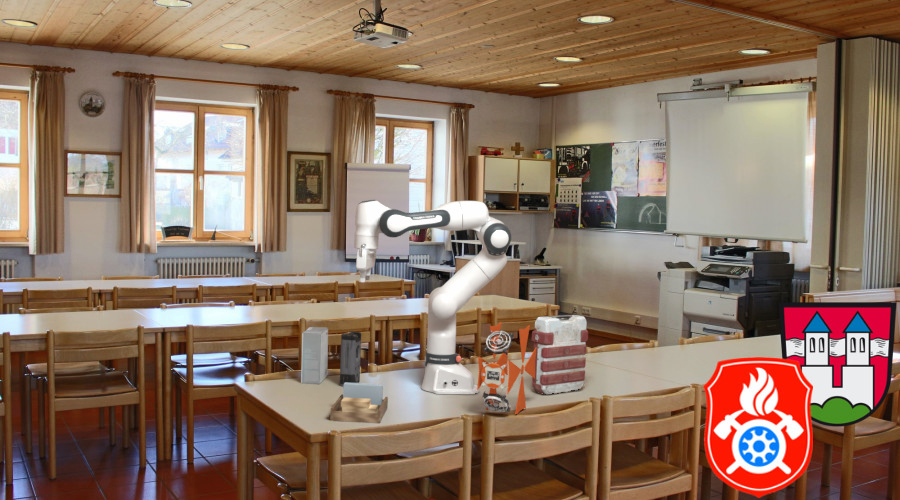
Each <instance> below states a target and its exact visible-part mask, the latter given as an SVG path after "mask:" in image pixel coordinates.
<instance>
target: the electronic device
mask: <svg viewBox="0 0 900 500" xmlns="http://www.w3.org/2000/svg"><path fill="white" fill-rule="evenodd" d="M340 339H341V340H340V363H339V367H340V368H339V386H340V387H343V386H344V383H345V382H347V383H361V381H360V379H361V378H360V377H361V375H360V374H361V354H362V352H361V351H362V350H361V349H362V348H361V347H362V333H361V332H360V331H346V332H344V333H341V336H340Z"/></svg>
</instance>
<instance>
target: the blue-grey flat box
mask: <svg viewBox="0 0 900 500" xmlns="http://www.w3.org/2000/svg"><path fill="white" fill-rule="evenodd" d="M342 387H343V389H342V390H343V392H342V393H343V398H344V397H347V398H366V399H371V405H381V404H382V399H383V394H384V393H383V392H384V391H383V390H384V384H382V383H381V384H380V383H366V382H365V383H363V382H359V383H347V382H345V383H344V386H342Z"/></svg>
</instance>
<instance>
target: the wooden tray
mask: <svg viewBox="0 0 900 500" xmlns="http://www.w3.org/2000/svg"><path fill="white" fill-rule="evenodd" d="M342 399H343V394H341V395H340V396H339V397H338V399H337V400H336V401H335V403H333V405H332V406H331V408H330V415H329V416H330V419H329V420H333V422H347V421H350V423H369V424H381V422H382V420H383V418H384V416H385V414H386V412H387V410H388V407H389V406H388V404H389V403H388V400H389V397H388V396H385V397H384V398H382V404H381V405H378V413H364V412H345V411H339V410H340V409H342V407H341V400H342Z"/></svg>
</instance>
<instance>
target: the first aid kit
mask: <svg viewBox="0 0 900 500" xmlns="http://www.w3.org/2000/svg"><path fill="white" fill-rule="evenodd" d="M587 323H588V322H587V319H586V317H585V316H584V315H578V314H577V315H576V314H559V315H550V316H538V317H537V318H536V320H535V322H534V330H533V331H531V332H532V333H531V341H532V342H533V351H534V350H535V348H536V347H537V349H536V358H535V379H534V378H533V377H532V376H531V377H532V380H531V383H532V384H531V387H532V388H533V389H534V391H535V392H536V393H538V392H539V393H538V394H540V393H543V394H542V395H545V394H546V395H551V394H552V393H554V394H557V393H558V392H565V391H569V392H572V391H571V390H575V391H578V390H577V389H580V390H581V388H582V387H583V385H584V384H585V383H584V381H585V379H586V371H585V368H586V362H587V361H586V360H587V359H586V353H587V343H586V342H587V341H588V340H589V331H588V330H587ZM552 395H553V394H552Z"/></svg>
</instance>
